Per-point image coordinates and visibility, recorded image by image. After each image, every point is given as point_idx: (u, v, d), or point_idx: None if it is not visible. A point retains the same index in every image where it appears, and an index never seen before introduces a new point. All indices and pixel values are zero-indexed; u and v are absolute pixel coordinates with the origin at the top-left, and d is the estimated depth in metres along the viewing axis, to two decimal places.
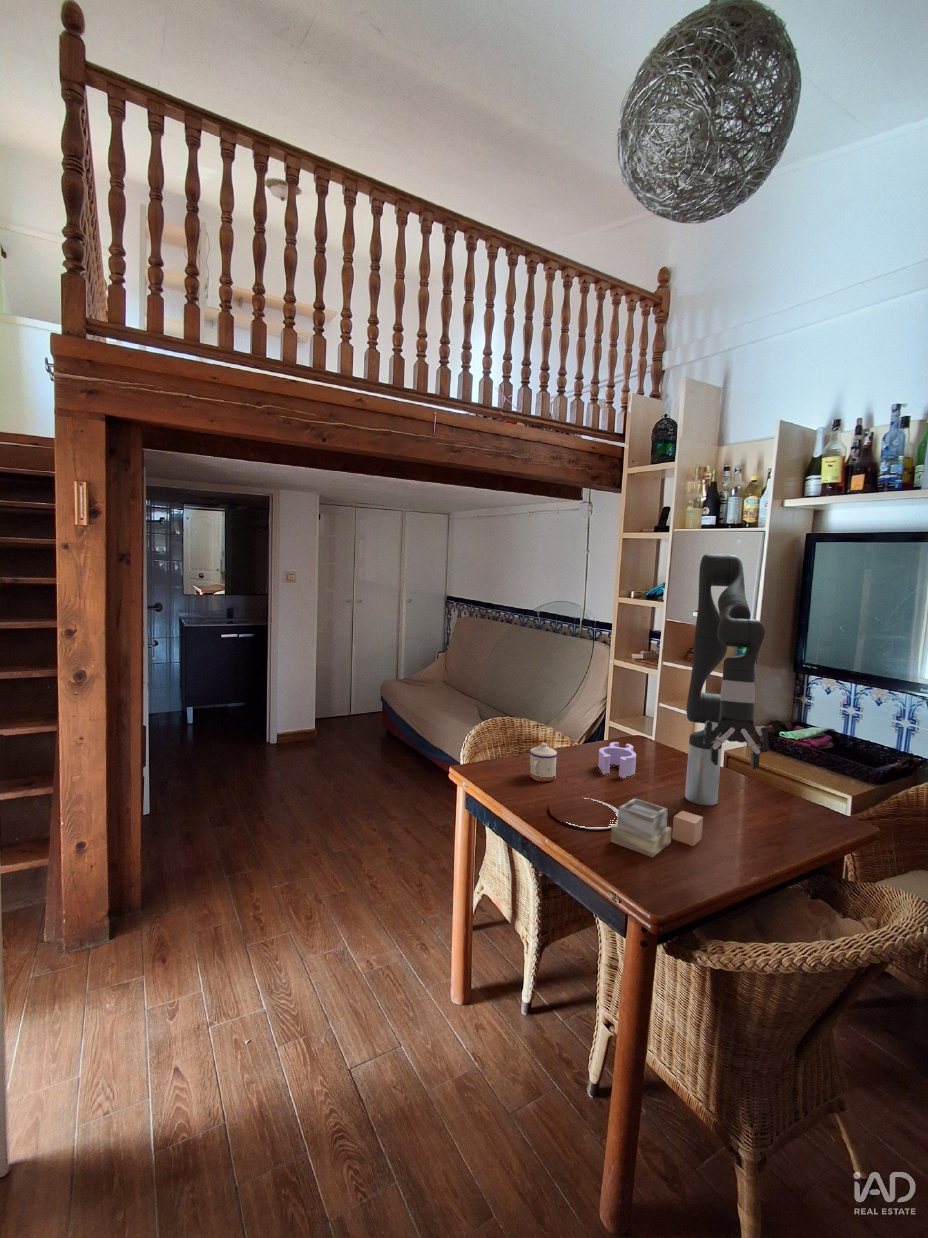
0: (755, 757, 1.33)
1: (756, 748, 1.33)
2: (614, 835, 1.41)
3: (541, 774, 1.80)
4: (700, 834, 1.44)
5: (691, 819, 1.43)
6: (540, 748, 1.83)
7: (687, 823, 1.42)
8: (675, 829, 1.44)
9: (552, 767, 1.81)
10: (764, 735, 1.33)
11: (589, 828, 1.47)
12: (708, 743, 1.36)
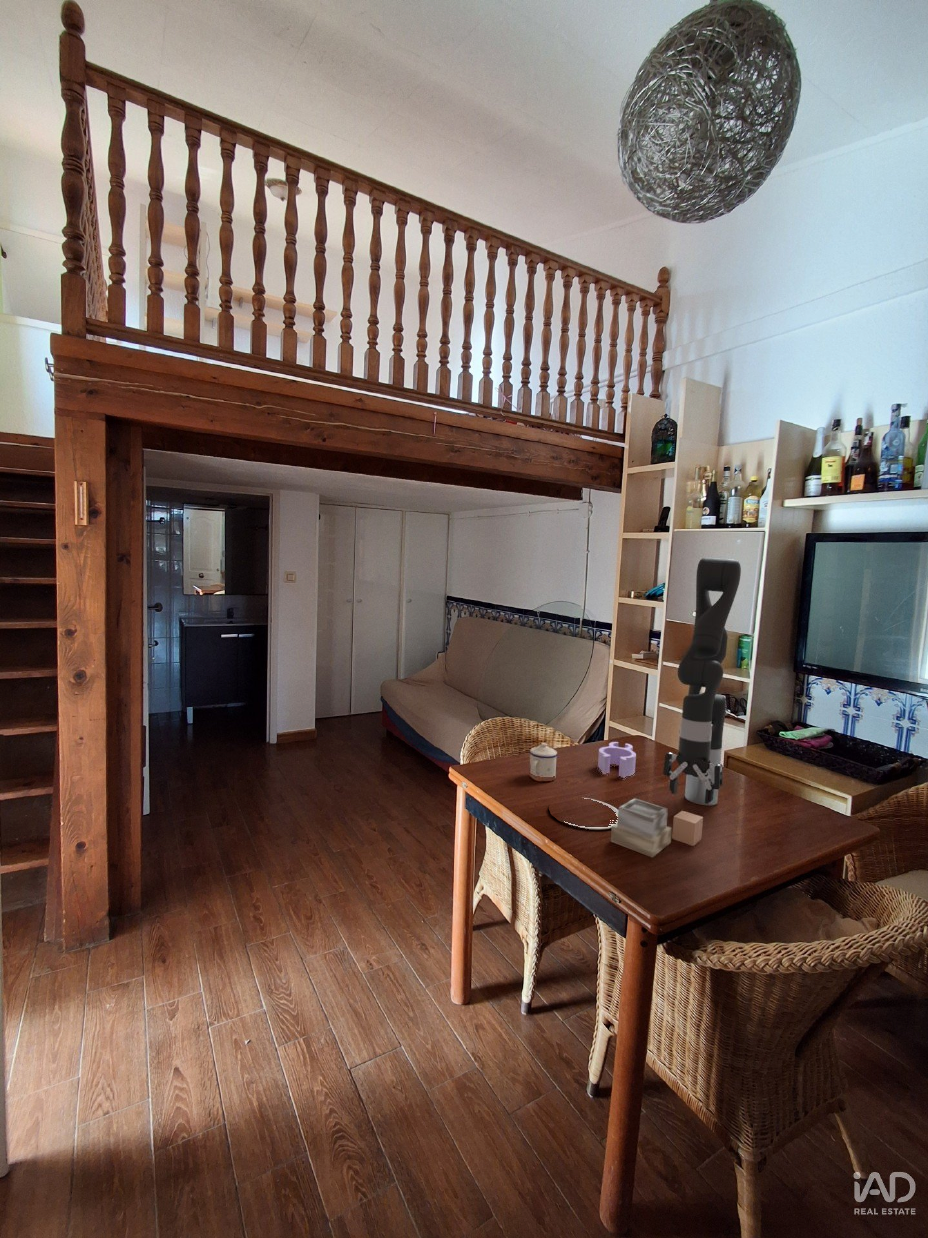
0: (707, 792, 1.40)
1: (708, 784, 1.40)
2: (614, 835, 1.41)
3: (541, 774, 1.80)
4: (700, 834, 1.44)
5: (691, 819, 1.43)
6: (540, 748, 1.83)
7: (687, 823, 1.42)
8: (675, 829, 1.44)
9: (552, 767, 1.81)
10: (715, 773, 1.38)
11: (589, 828, 1.47)
12: (666, 773, 1.47)
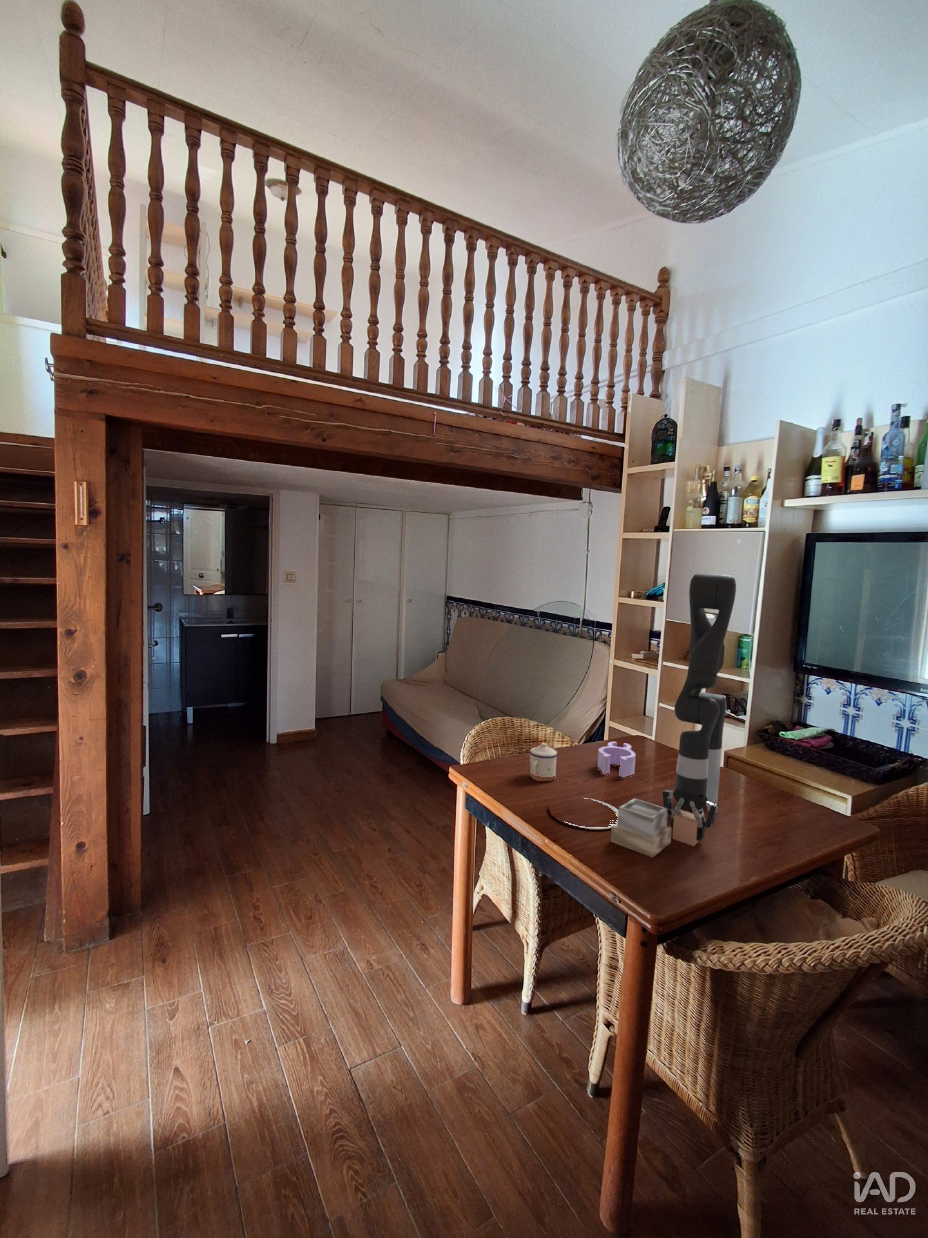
0: (698, 830, 1.42)
1: (700, 822, 1.41)
2: (614, 835, 1.41)
3: (541, 774, 1.80)
4: None
5: (691, 819, 1.43)
6: (540, 748, 1.83)
7: (687, 822, 1.42)
8: (675, 829, 1.44)
9: (552, 767, 1.81)
10: (710, 812, 1.40)
11: (589, 828, 1.47)
12: None
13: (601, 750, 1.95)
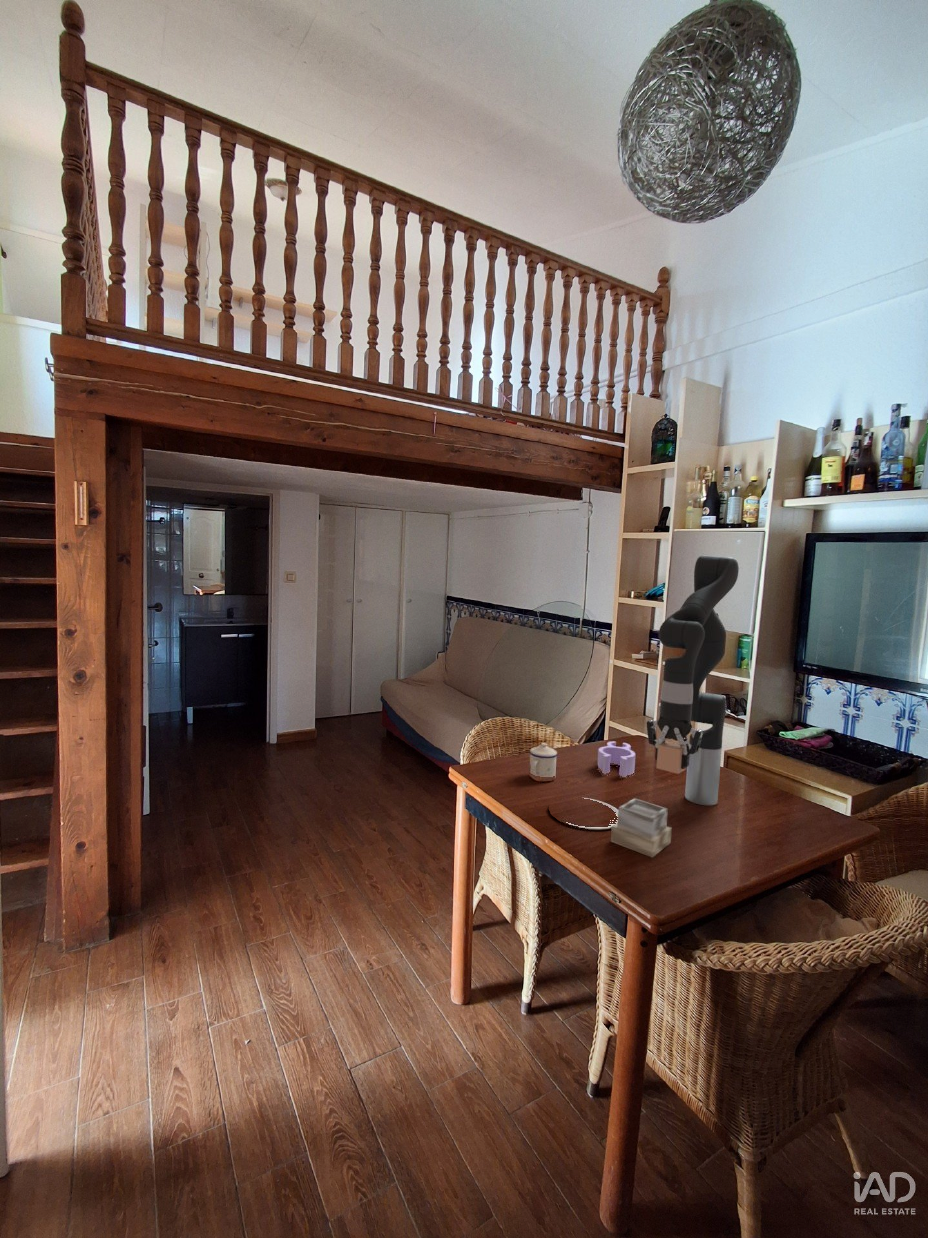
0: (683, 757, 1.38)
1: (684, 749, 1.38)
2: (614, 835, 1.41)
3: (541, 774, 1.80)
4: None
5: (676, 747, 1.40)
6: (540, 748, 1.83)
7: (671, 750, 1.38)
8: (659, 758, 1.40)
9: (552, 767, 1.81)
10: (695, 738, 1.36)
11: (589, 828, 1.47)
12: (651, 742, 1.43)
13: (601, 750, 1.95)
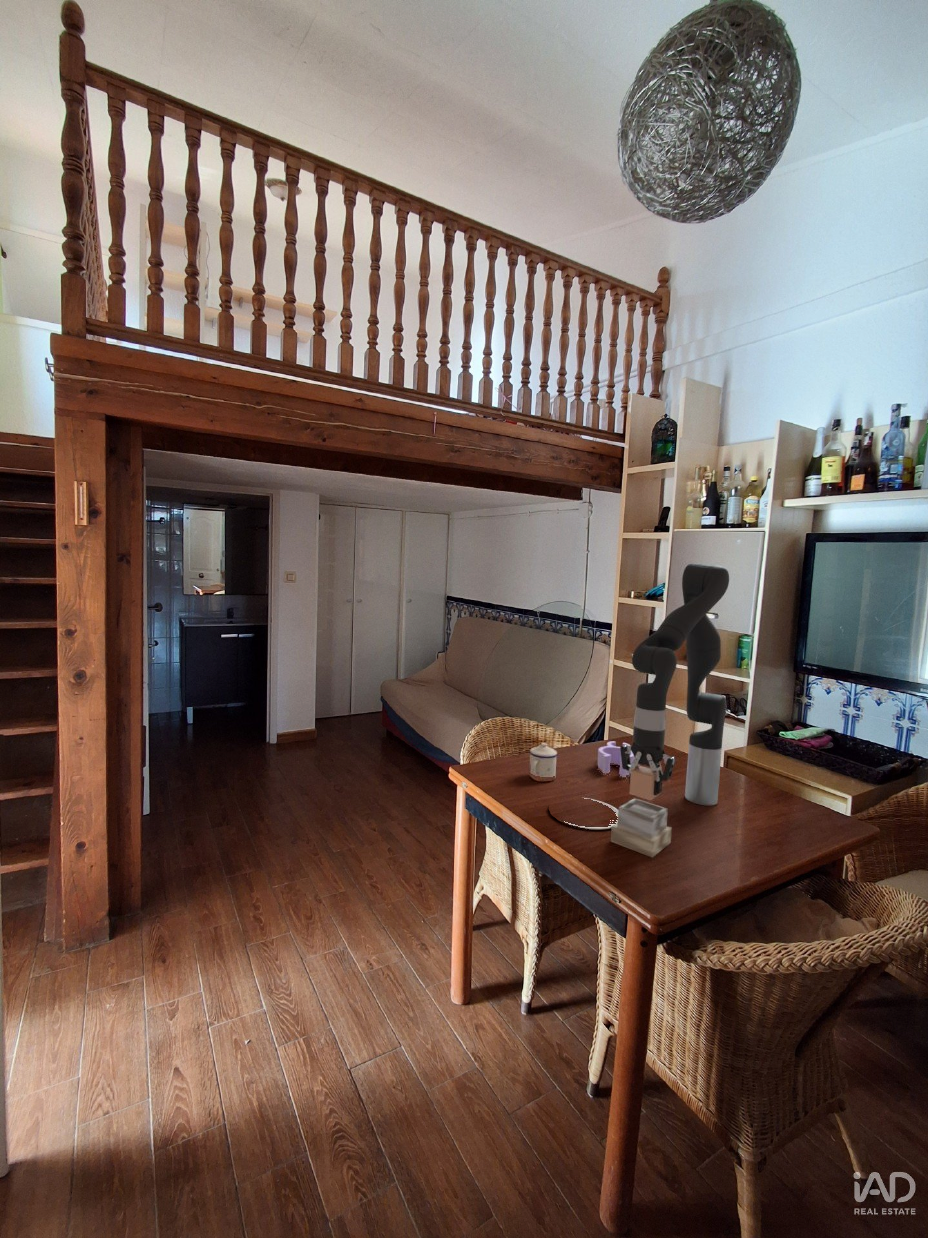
0: (655, 784, 1.38)
1: (657, 776, 1.37)
2: (614, 835, 1.41)
3: (541, 774, 1.80)
4: None
5: (648, 773, 1.39)
6: (540, 748, 1.83)
7: (644, 776, 1.38)
8: (632, 784, 1.40)
9: (552, 767, 1.81)
10: (667, 765, 1.36)
11: (589, 828, 1.47)
12: (625, 767, 1.43)
13: (601, 750, 1.95)
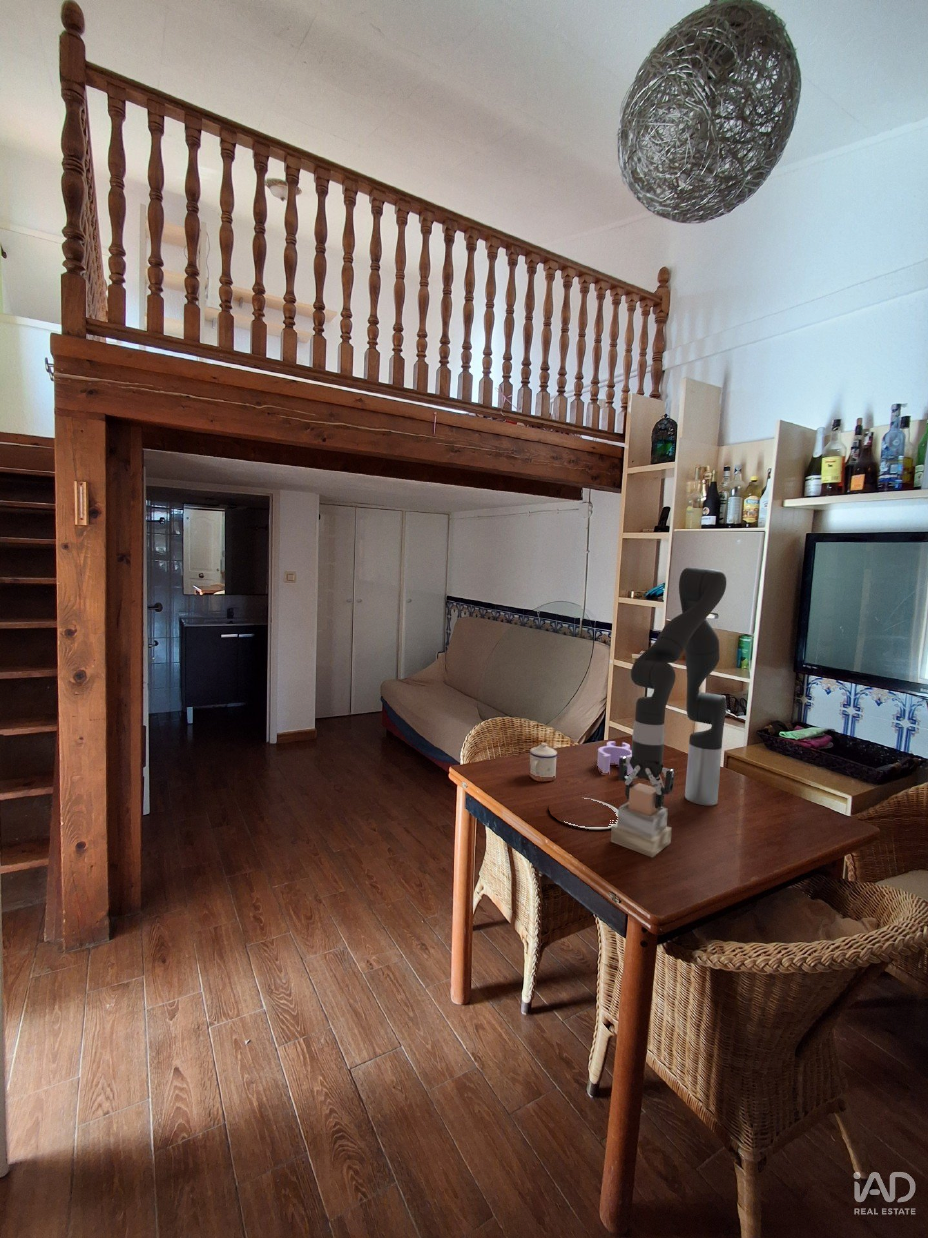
0: (657, 797, 1.38)
1: (658, 789, 1.37)
2: (614, 835, 1.41)
3: (541, 774, 1.80)
4: None
5: (647, 790, 1.40)
6: (540, 748, 1.83)
7: (642, 794, 1.38)
8: (631, 802, 1.40)
9: (552, 767, 1.81)
10: (666, 778, 1.36)
11: (589, 828, 1.47)
12: (621, 778, 1.44)
13: (601, 750, 1.96)
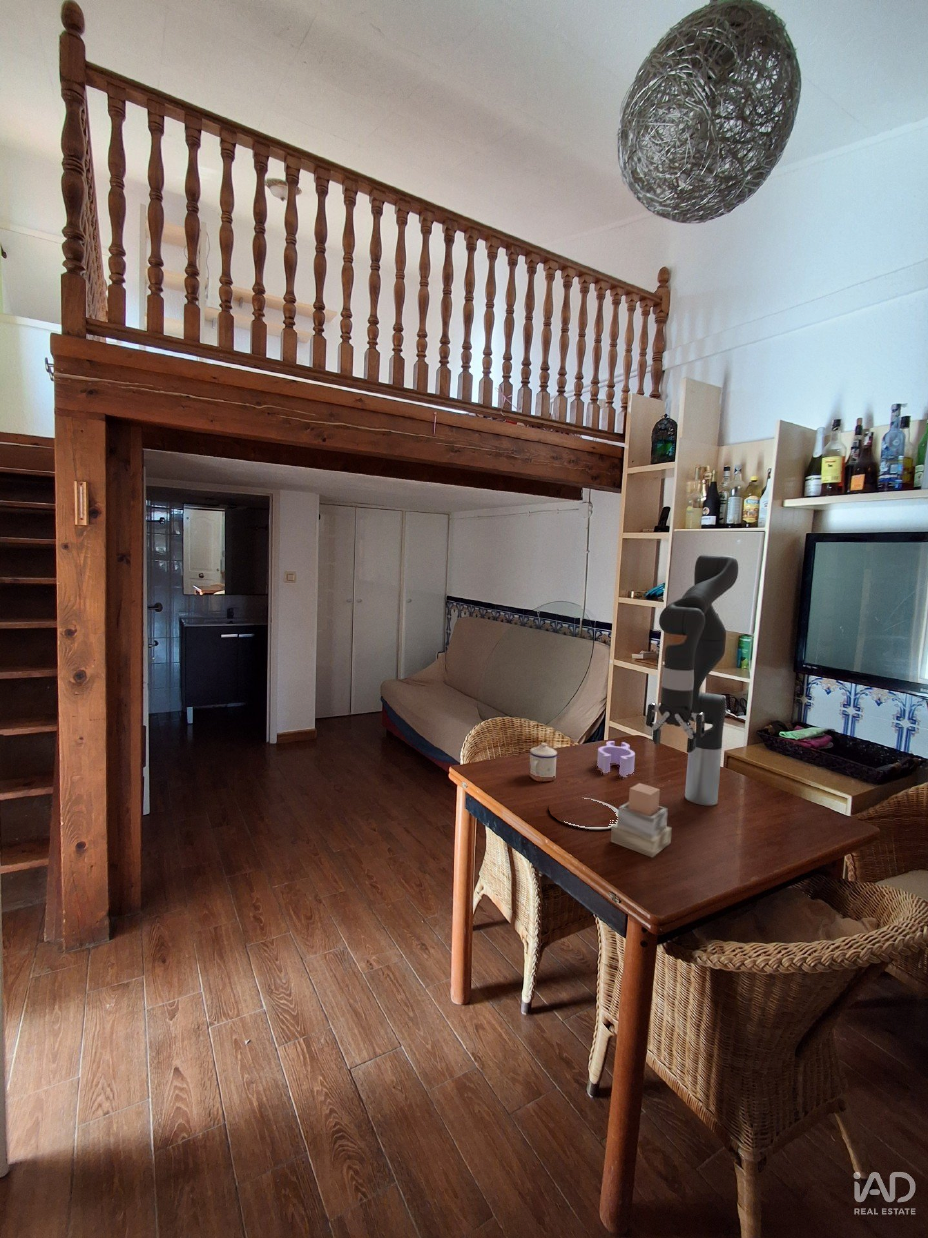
0: (689, 741, 1.38)
1: (689, 733, 1.38)
2: (614, 835, 1.41)
3: (541, 774, 1.80)
4: (656, 806, 1.40)
5: (647, 790, 1.40)
6: (540, 748, 1.83)
7: (642, 794, 1.38)
8: (631, 802, 1.40)
9: (552, 767, 1.81)
10: (697, 722, 1.37)
11: (589, 828, 1.47)
12: (648, 724, 1.45)
13: (601, 750, 1.96)
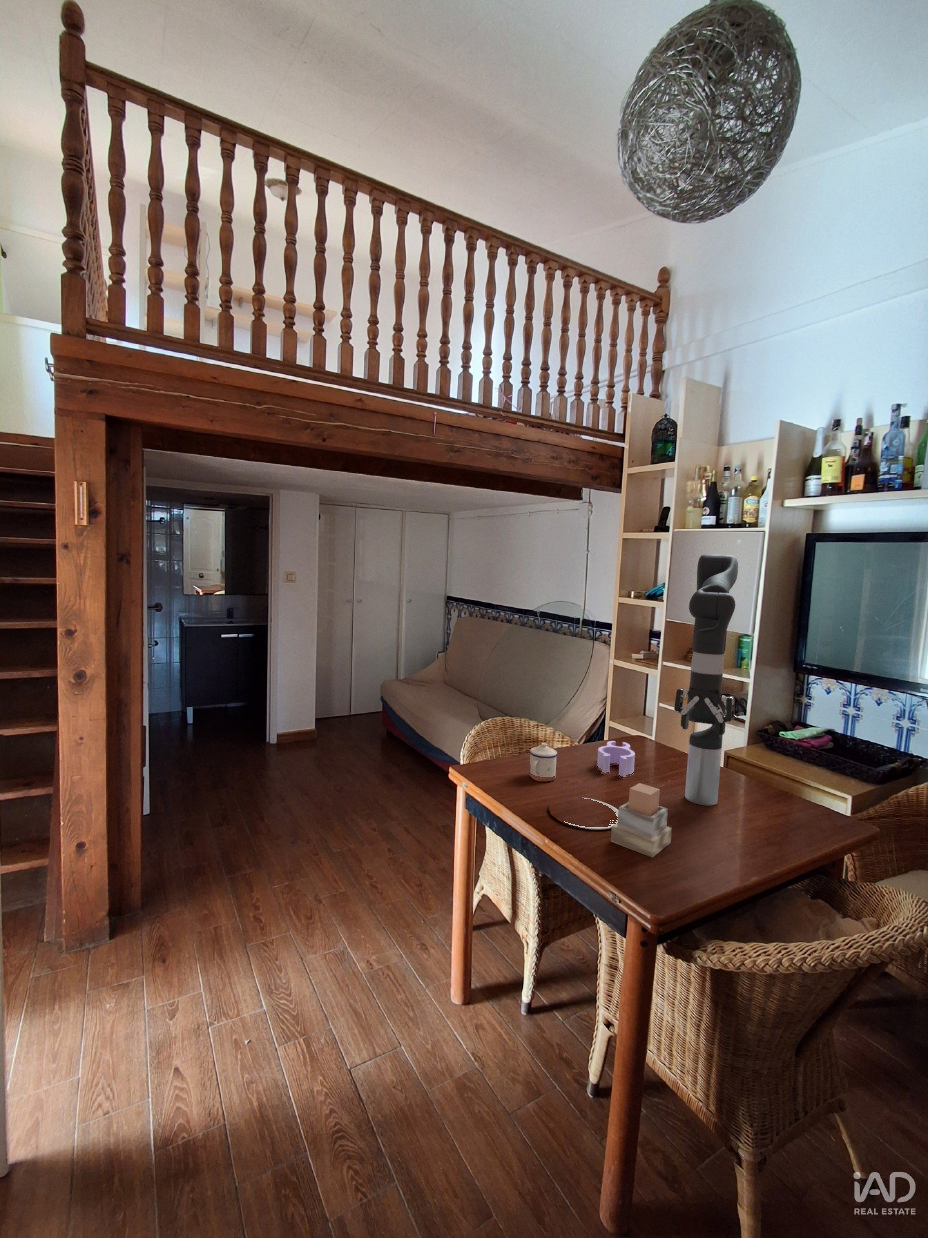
0: (718, 725, 1.40)
1: (719, 717, 1.39)
2: (614, 835, 1.41)
3: (541, 774, 1.80)
4: (656, 806, 1.40)
5: (647, 790, 1.40)
6: (540, 748, 1.83)
7: (642, 794, 1.38)
8: (631, 802, 1.40)
9: (552, 767, 1.81)
10: (727, 705, 1.38)
11: (589, 828, 1.47)
12: (677, 709, 1.47)
13: (601, 749, 1.96)
